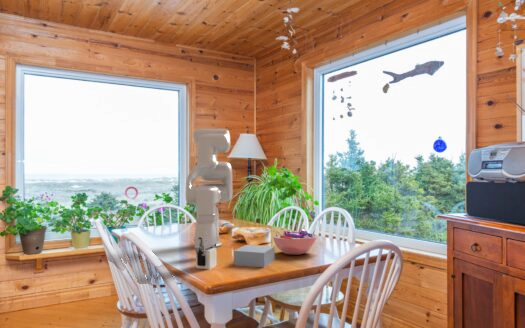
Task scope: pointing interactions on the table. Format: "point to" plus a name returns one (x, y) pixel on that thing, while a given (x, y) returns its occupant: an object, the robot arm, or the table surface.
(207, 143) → the robot arm
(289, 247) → the cell model
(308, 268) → the table surface
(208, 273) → the table surface
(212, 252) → the cream matte cube
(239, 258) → the base box
